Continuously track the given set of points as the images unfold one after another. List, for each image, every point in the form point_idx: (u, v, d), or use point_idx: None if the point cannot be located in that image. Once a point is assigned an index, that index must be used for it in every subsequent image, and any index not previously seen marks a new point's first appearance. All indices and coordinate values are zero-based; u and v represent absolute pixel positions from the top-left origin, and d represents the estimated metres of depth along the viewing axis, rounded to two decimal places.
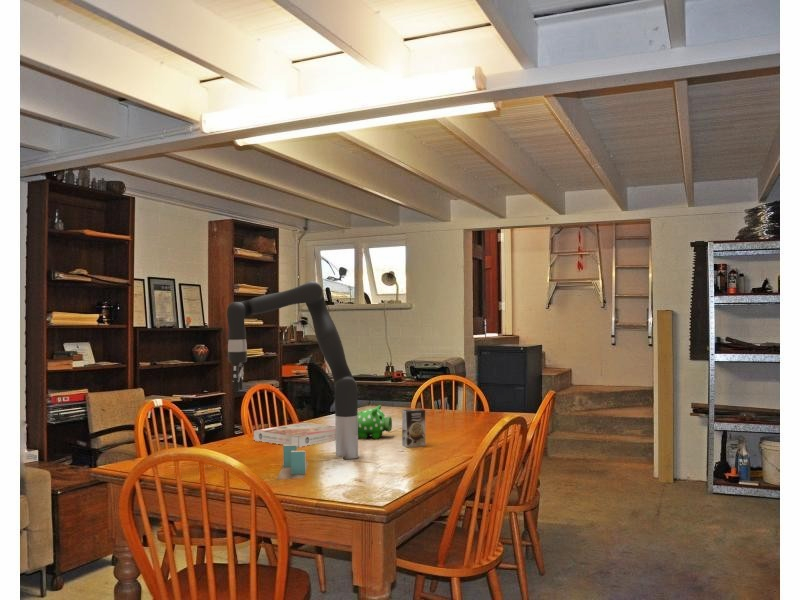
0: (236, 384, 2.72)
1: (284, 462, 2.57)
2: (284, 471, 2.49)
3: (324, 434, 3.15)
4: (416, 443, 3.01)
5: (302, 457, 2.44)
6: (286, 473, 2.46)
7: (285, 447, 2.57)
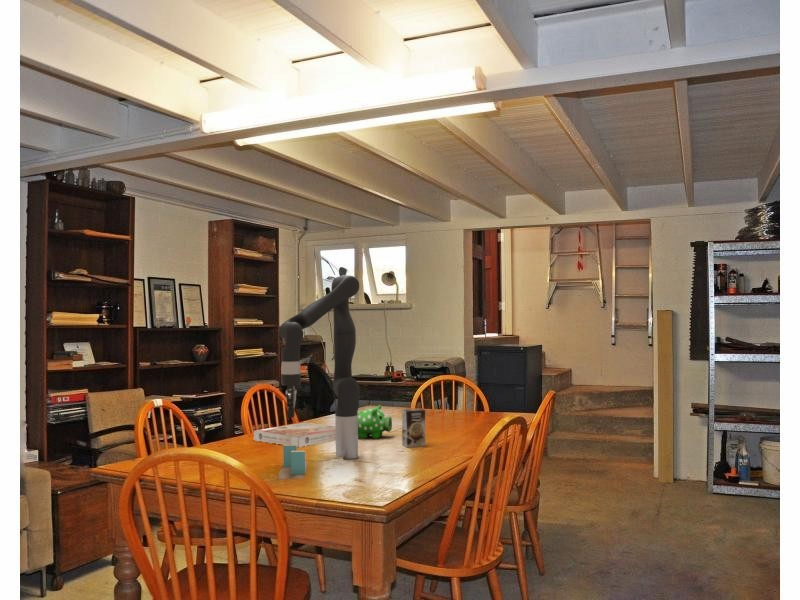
0: (291, 410, 2.63)
1: (284, 462, 2.57)
2: (284, 471, 2.49)
3: (324, 434, 3.15)
4: (416, 443, 3.01)
5: (302, 457, 2.44)
6: (286, 473, 2.46)
7: (285, 447, 2.57)
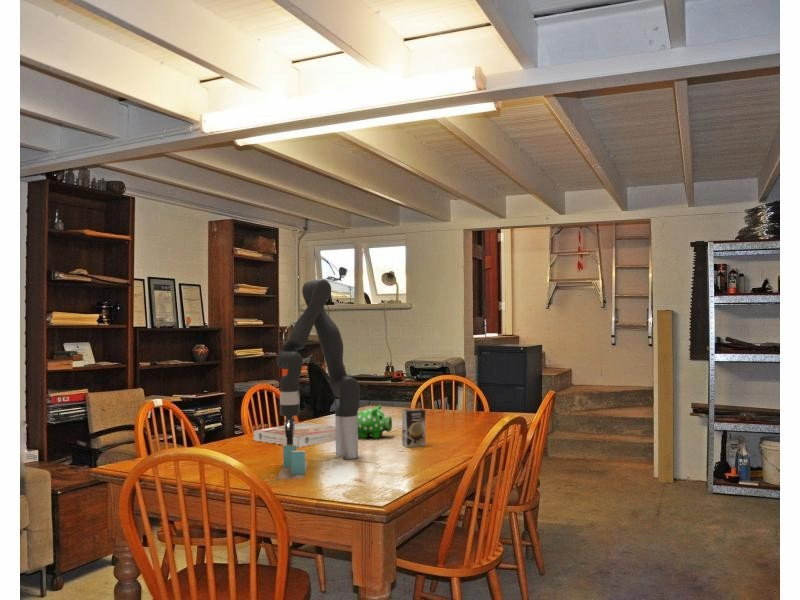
0: (290, 441, 2.60)
1: (284, 462, 2.57)
2: (284, 471, 2.49)
3: (324, 434, 3.15)
4: (416, 443, 3.01)
5: (302, 457, 2.44)
6: (286, 473, 2.46)
7: (285, 447, 2.57)
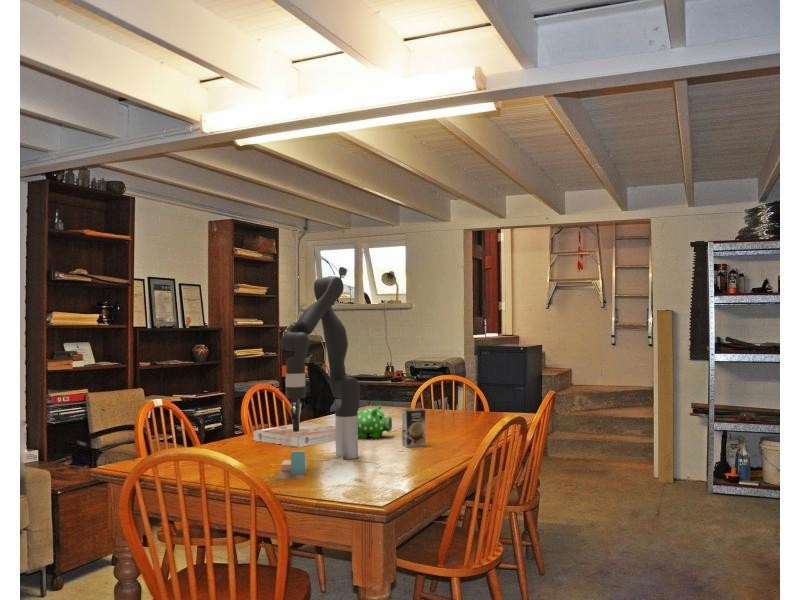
0: (296, 424, 2.53)
1: None
2: None
3: (323, 435, 3.15)
4: (416, 443, 3.01)
5: (302, 457, 2.44)
6: (286, 473, 2.46)
7: None
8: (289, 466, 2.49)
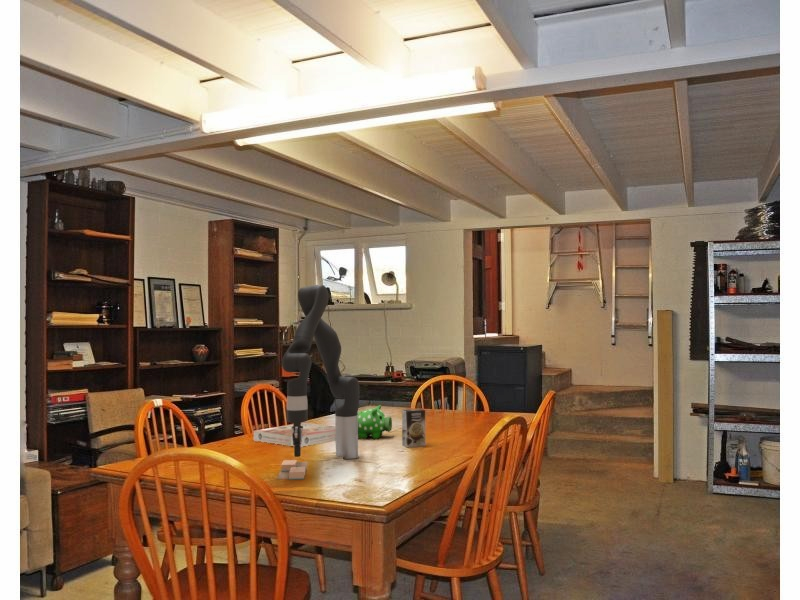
0: (298, 449, 2.43)
1: None
2: None
3: (323, 435, 3.15)
4: (416, 443, 3.01)
5: None
6: (286, 473, 2.46)
7: None
8: (289, 466, 2.49)
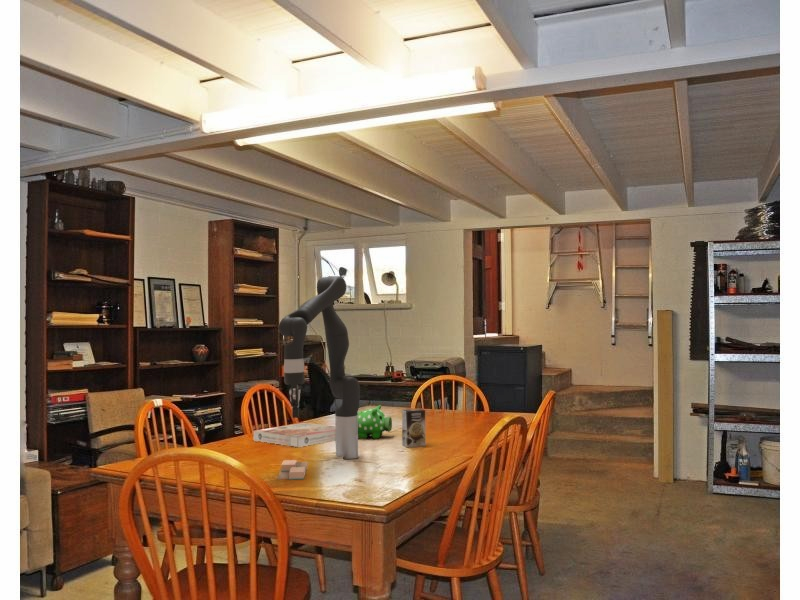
0: (296, 410, 2.50)
1: None
2: None
3: (323, 435, 3.15)
4: (416, 443, 3.01)
5: None
6: (286, 473, 2.46)
7: None
8: (289, 466, 2.49)
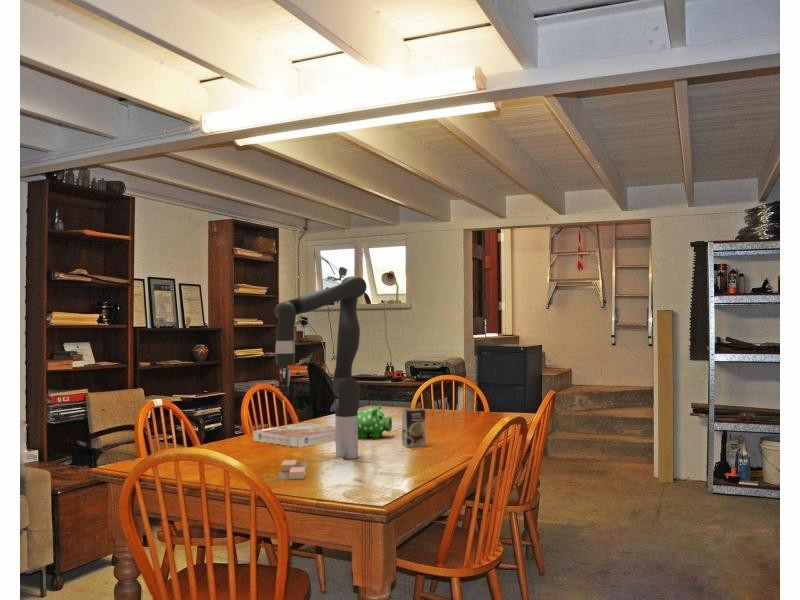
0: (285, 389, 2.67)
1: None
2: None
3: (323, 435, 3.15)
4: (416, 443, 3.01)
5: None
6: (286, 473, 2.46)
7: None
8: (289, 466, 2.49)
